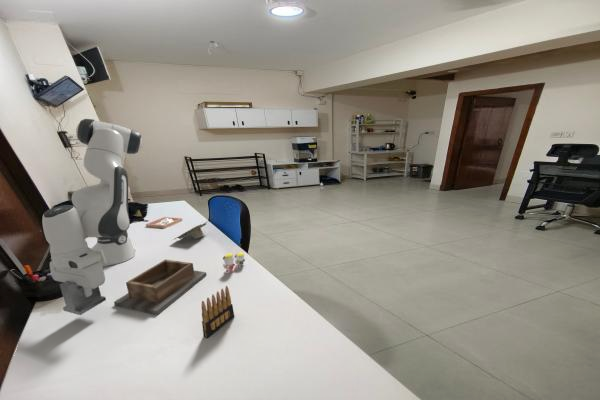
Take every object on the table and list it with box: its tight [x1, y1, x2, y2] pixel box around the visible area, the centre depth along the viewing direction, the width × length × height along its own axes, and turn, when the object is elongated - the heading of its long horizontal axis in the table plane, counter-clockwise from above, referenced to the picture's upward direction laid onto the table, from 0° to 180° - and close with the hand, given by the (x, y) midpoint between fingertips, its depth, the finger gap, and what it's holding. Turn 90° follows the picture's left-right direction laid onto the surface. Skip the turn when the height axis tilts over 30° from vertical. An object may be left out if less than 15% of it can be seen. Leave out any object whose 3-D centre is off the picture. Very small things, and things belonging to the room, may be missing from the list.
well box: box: [113, 259, 207, 316], centre depth 100 cm, size 20×26×8 cm
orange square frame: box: [145, 216, 183, 229], centre depth 182 cm, size 16×16×2 cm
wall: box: [172, 221, 210, 240], centre depth 151 cm, size 19×10×17 cm
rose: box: [158, 218, 173, 225], centre depth 180 cm, size 10×4×10 cm
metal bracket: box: [59, 281, 107, 316], centre depth 84 cm, size 8×8×10 cm
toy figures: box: [222, 252, 246, 274], centre depth 114 cm, size 12×4×8 cm, turn 144°
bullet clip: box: [201, 285, 235, 339], centre depth 78 cm, size 11×2×12 cm, turn 147°
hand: (82, 294), depth 84 cm, fingers closed on metal bracket, 4 cm apart
